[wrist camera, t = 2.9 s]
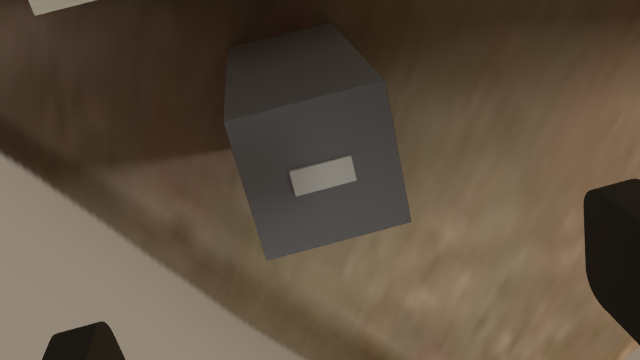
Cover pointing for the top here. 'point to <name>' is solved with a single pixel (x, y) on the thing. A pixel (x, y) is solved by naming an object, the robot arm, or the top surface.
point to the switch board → (53, 5)
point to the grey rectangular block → (312, 140)
